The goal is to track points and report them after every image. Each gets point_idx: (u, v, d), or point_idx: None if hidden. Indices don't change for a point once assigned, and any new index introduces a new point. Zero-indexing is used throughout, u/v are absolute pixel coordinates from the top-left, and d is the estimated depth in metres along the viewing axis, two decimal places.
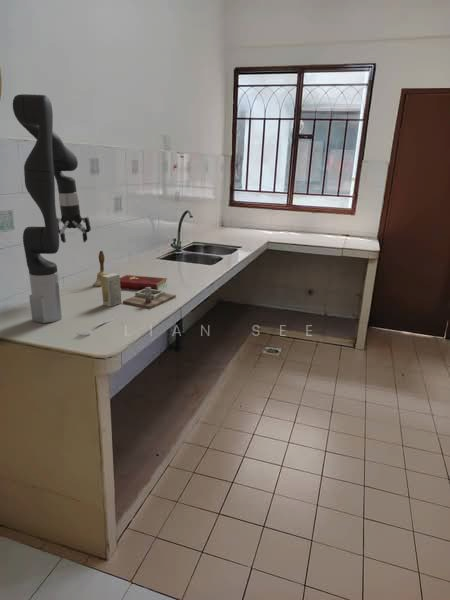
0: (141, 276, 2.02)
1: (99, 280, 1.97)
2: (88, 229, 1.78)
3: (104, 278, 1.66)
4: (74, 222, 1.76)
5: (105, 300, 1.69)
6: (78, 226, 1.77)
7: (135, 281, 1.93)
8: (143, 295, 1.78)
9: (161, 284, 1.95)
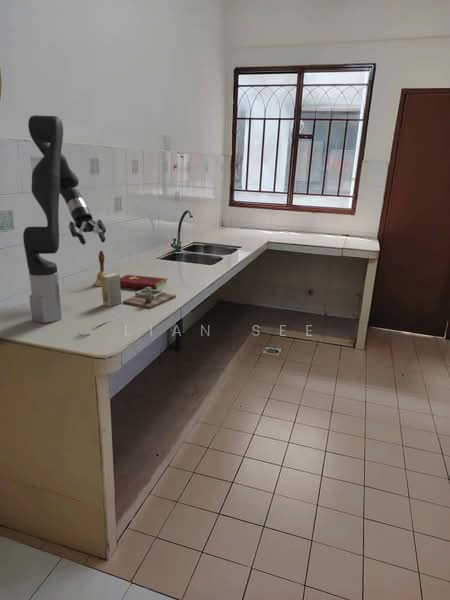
0: (142, 276, 2.02)
1: (99, 280, 1.97)
2: (104, 228, 1.79)
3: (104, 278, 1.66)
4: (90, 222, 1.76)
5: (105, 300, 1.69)
6: (95, 225, 1.76)
7: (135, 281, 1.93)
8: (143, 295, 1.78)
9: (161, 284, 1.94)
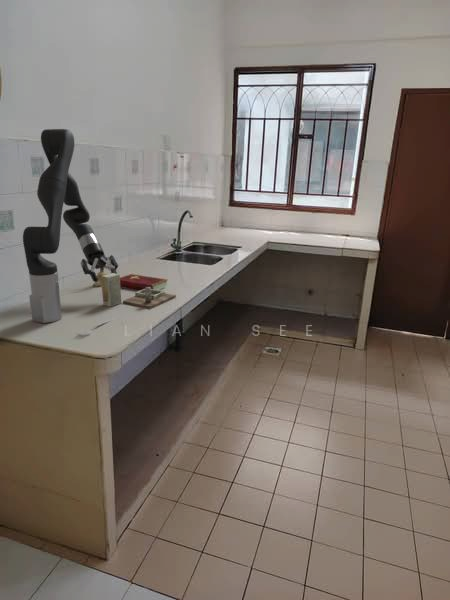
0: (144, 276, 2.02)
1: (99, 280, 1.97)
2: (116, 264, 1.77)
3: (104, 278, 1.66)
4: (103, 258, 1.74)
5: (105, 300, 1.69)
6: (107, 262, 1.74)
7: (134, 281, 1.94)
8: (143, 295, 1.78)
9: (159, 285, 1.93)
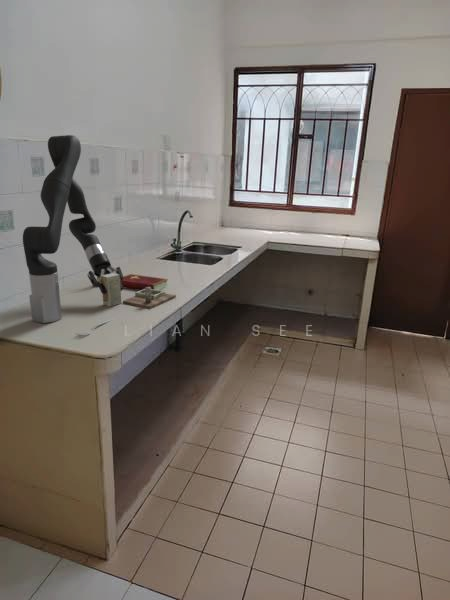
0: (144, 276, 2.02)
1: None
2: (122, 276, 1.74)
3: (104, 278, 1.66)
4: (109, 269, 1.71)
5: (105, 300, 1.69)
6: None
7: (134, 280, 1.94)
8: (143, 295, 1.78)
9: (160, 285, 1.93)
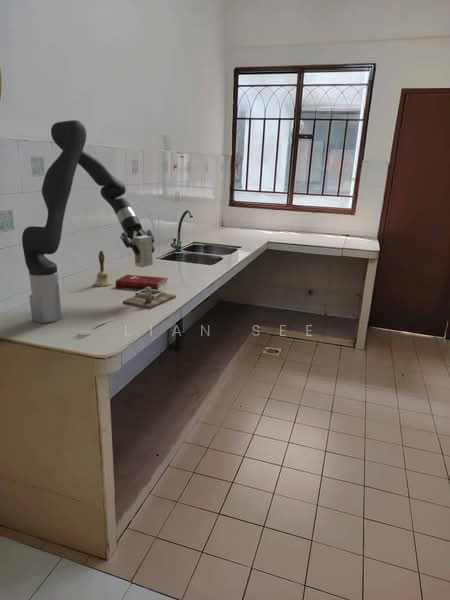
0: (142, 276, 2.03)
1: (99, 280, 1.97)
2: (153, 239, 1.78)
3: (137, 239, 1.70)
4: (141, 232, 1.76)
5: (137, 261, 1.74)
6: None
7: (136, 281, 1.94)
8: (143, 295, 1.78)
9: (162, 284, 1.95)
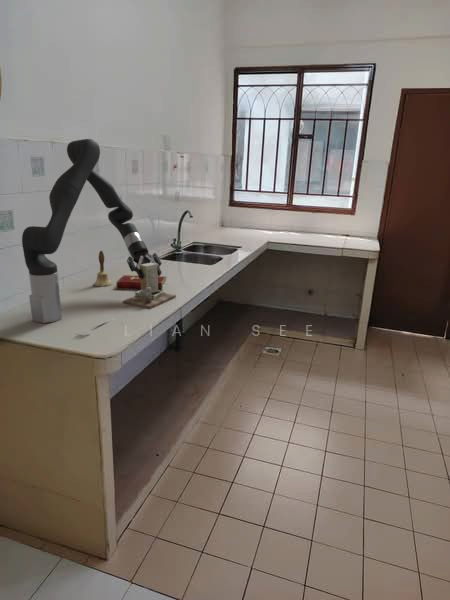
0: None
1: (99, 280, 1.97)
2: (160, 262, 1.83)
3: (143, 267, 1.75)
4: (147, 256, 1.80)
5: (143, 288, 1.78)
6: (151, 259, 1.80)
7: (138, 281, 1.94)
8: (143, 295, 1.78)
9: (163, 282, 1.97)
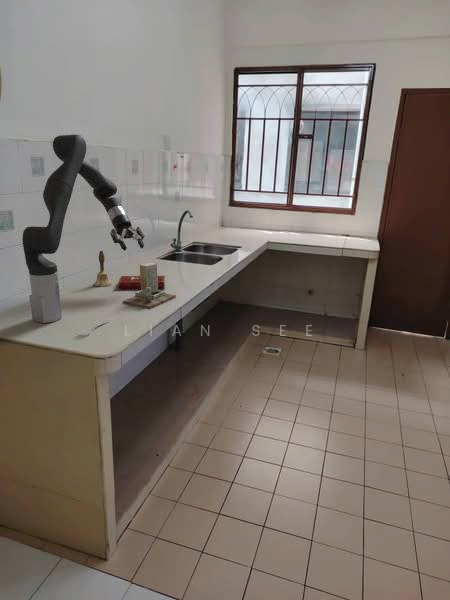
0: (138, 276, 2.02)
1: (99, 280, 1.97)
2: (143, 235, 1.89)
3: (143, 267, 1.75)
4: (130, 229, 1.86)
5: (143, 288, 1.78)
6: (134, 232, 1.86)
7: (139, 281, 1.94)
8: (143, 295, 1.78)
9: None
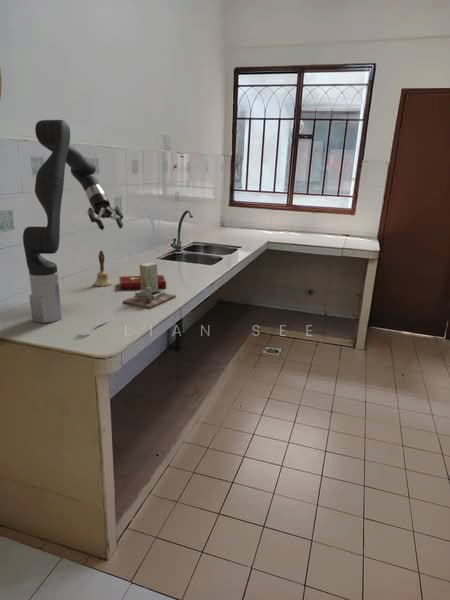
0: (137, 276, 2.02)
1: (99, 280, 1.97)
2: (122, 215, 1.83)
3: (143, 267, 1.75)
4: (108, 208, 1.80)
5: (143, 288, 1.78)
6: (113, 212, 1.80)
7: (140, 281, 1.94)
8: (143, 295, 1.78)
9: None
